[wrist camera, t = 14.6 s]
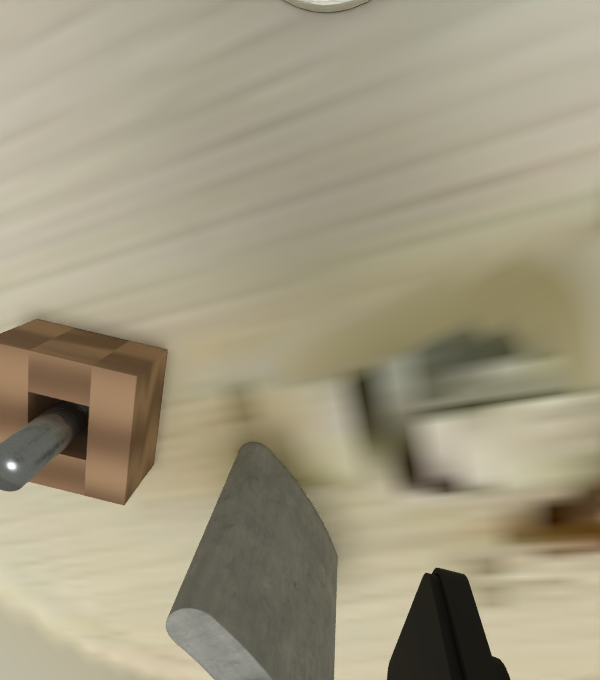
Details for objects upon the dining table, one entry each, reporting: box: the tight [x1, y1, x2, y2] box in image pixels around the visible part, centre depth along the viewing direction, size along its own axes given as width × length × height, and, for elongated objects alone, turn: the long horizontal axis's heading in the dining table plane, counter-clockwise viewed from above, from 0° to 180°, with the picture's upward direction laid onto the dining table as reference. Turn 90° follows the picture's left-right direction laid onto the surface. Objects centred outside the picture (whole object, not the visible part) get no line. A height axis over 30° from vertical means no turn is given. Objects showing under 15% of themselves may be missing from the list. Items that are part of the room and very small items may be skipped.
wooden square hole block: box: [0, 319, 167, 505], centre depth 38 cm, size 12×12×6 cm
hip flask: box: [166, 442, 337, 680], centre depth 33 cm, size 16×4×20 cm, turn 30°
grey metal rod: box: [0, 400, 89, 491], centre depth 35 cm, size 3×3×12 cm
